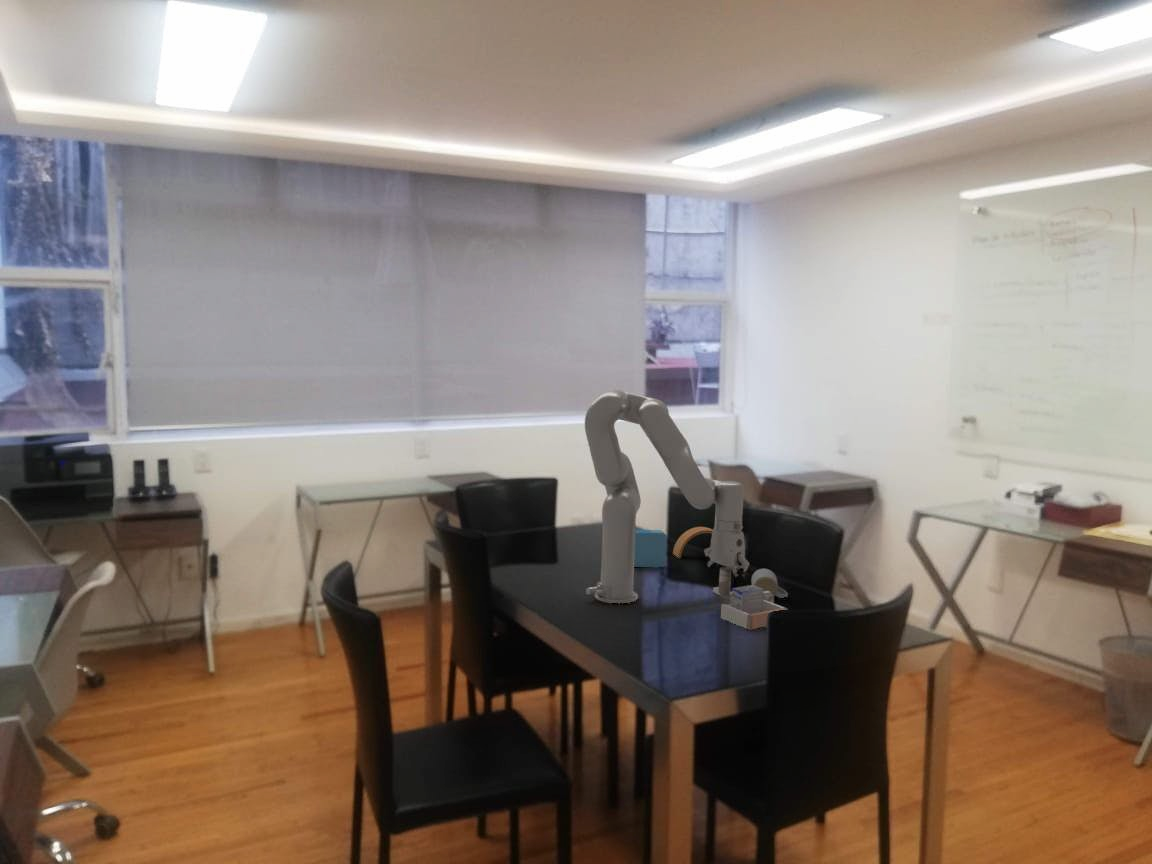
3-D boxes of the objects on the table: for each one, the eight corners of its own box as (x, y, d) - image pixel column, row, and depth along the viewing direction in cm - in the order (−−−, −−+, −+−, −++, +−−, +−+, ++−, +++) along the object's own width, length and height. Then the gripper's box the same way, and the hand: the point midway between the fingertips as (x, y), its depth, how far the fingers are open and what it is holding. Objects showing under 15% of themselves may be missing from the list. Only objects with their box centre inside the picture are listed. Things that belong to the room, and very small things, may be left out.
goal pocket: (749, 630, 229) (750, 615, 229) (720, 618, 238) (721, 604, 238) (787, 623, 237) (788, 608, 236) (758, 611, 246) (758, 597, 246)
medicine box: (750, 614, 243) (752, 584, 242) (762, 619, 240) (764, 588, 239) (729, 618, 239) (731, 587, 238) (741, 623, 235) (742, 592, 234)
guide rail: (760, 611, 247) (760, 606, 246) (712, 592, 263) (713, 587, 263) (765, 610, 248) (766, 605, 248) (717, 591, 264) (718, 586, 264)
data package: (662, 564, 294) (664, 529, 292) (665, 568, 289) (667, 532, 288) (627, 564, 292) (628, 529, 291) (629, 568, 288) (631, 532, 286)
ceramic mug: (752, 599, 258) (754, 574, 257) (750, 591, 266) (752, 567, 265) (789, 602, 256) (791, 577, 256) (785, 594, 264) (787, 570, 264)
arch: (731, 557, 308) (733, 529, 307) (678, 558, 303) (679, 530, 302) (725, 553, 314) (726, 526, 312) (672, 554, 309) (673, 527, 308)
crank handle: (732, 618, 238) (734, 578, 236) (706, 607, 246) (708, 569, 245) (773, 610, 246) (775, 572, 245) (746, 600, 255) (748, 563, 254)
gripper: (759, 530, 240) (756, 591, 242) (717, 518, 254) (713, 575, 256) (739, 533, 236) (735, 594, 238) (697, 520, 250) (694, 578, 252)
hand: (724, 584), depth 247 cm, fingers open, 9 cm apart
